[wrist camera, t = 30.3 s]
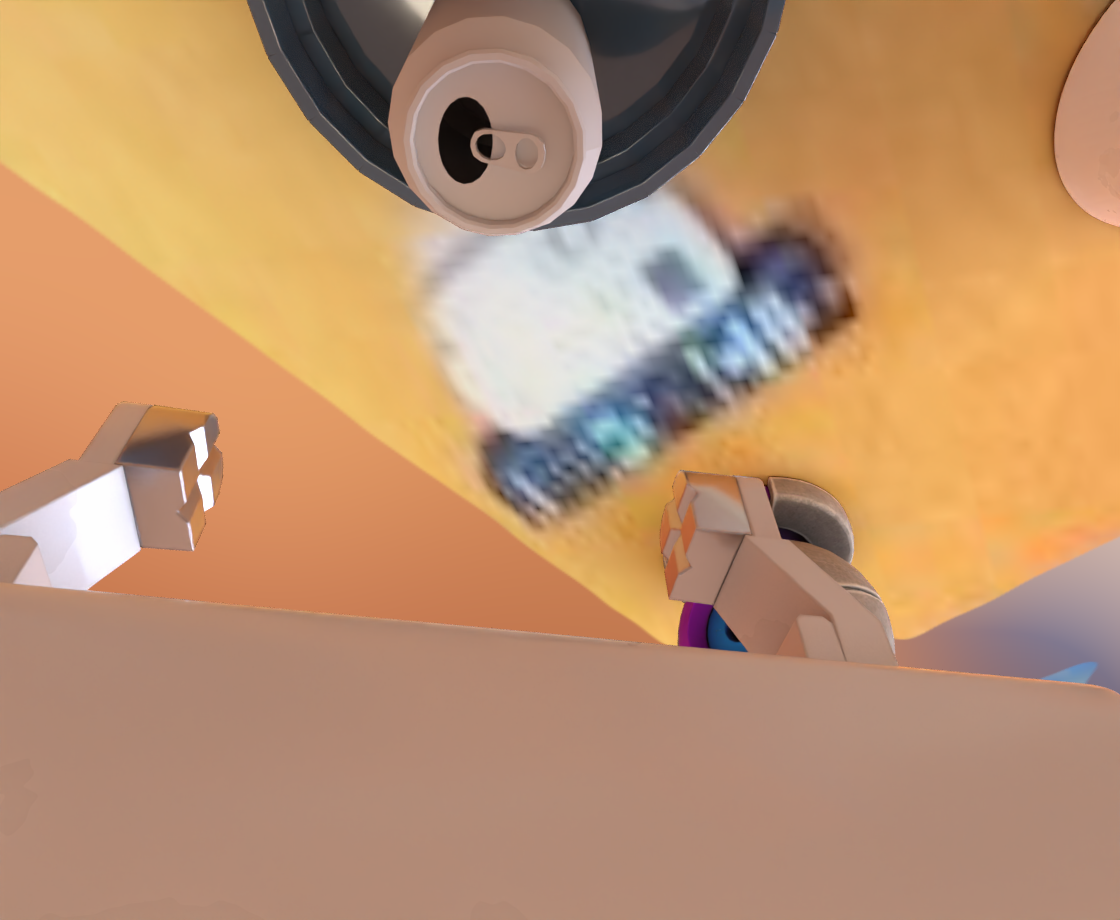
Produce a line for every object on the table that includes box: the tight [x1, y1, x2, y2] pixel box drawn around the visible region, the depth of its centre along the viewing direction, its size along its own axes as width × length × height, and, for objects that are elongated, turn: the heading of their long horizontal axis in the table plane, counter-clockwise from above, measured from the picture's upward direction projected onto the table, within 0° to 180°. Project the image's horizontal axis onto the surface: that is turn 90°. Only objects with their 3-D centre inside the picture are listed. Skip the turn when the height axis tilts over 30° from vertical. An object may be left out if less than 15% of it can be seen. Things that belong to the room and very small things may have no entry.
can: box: [388, 0, 602, 236], centre depth 32 cm, size 8×8×12 cm
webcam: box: [663, 477, 895, 655], centre depth 52 cm, size 13×13×15 cm
